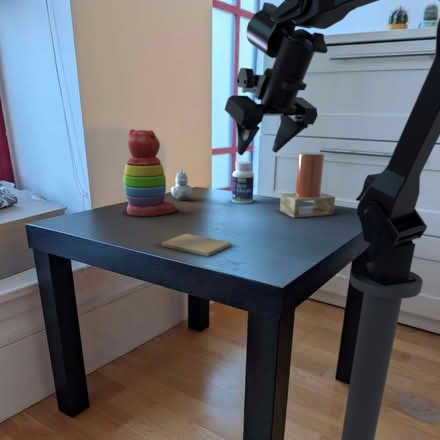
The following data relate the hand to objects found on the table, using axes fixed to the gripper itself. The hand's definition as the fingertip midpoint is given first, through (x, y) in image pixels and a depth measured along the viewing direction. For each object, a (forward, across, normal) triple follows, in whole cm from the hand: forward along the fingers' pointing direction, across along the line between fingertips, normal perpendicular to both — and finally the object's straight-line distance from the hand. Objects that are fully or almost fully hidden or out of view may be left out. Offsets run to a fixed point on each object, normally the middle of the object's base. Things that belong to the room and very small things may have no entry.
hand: (257, 152), depth 82 cm
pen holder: (+9, -16, +5) cm, 19 cm away
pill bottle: (+21, -12, -10) cm, 26 cm away
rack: (+12, -16, +7) cm, 21 cm away
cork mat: (+10, +19, +11) cm, 24 cm away
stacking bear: (+23, +12, -14) cm, 30 cm away
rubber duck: (+26, -2, -21) cm, 34 cm away
